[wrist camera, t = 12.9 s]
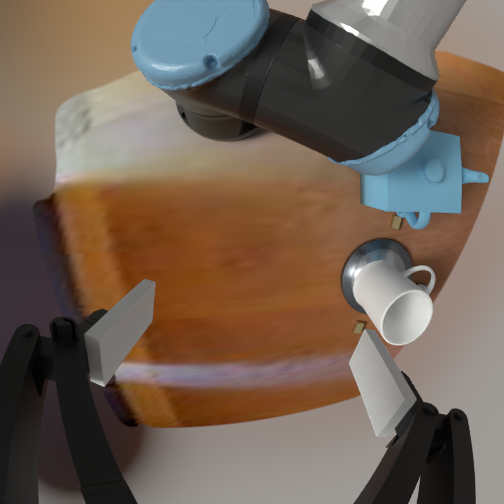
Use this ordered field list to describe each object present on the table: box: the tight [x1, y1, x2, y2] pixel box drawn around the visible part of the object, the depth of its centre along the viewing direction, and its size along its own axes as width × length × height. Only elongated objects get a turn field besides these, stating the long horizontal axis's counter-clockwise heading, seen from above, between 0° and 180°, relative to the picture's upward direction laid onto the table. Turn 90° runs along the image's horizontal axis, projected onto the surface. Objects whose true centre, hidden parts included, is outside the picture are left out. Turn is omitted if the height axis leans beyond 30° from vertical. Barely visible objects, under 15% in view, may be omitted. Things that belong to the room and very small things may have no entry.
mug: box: [353, 260, 436, 345], centre depth 35 cm, size 12×8×12 cm
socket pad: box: [341, 215, 427, 334], centre depth 42 cm, size 21×17×1 cm
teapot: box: [360, 130, 489, 229], centre depth 31 cm, size 18×16×13 cm
